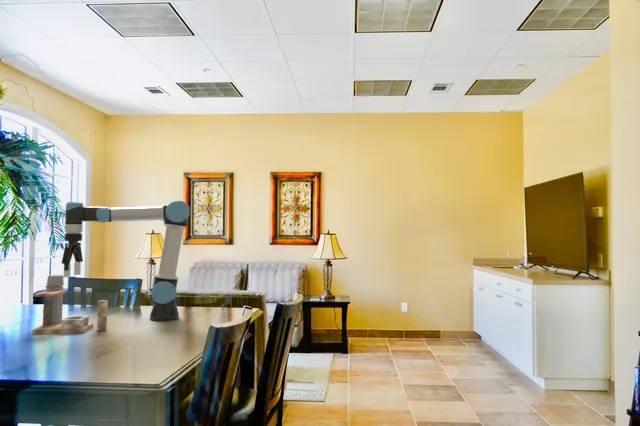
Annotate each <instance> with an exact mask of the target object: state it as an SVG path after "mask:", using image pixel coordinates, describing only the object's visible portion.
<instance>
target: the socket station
mask: <svg viewBox="0 0 640 426" xmlns="http://www.w3.org/2000/svg"><path fill="white" fill-rule="evenodd" d="M66 293H67V290H64V289H63V290H56V291H46V290H43V291H40V292H36V293H34V294H33V297H34V298H35V297H43V308H44V309H42V314H43V315H42V324H41V325H39V326H38V327H35V328H34V329H31V335H33V336H34V335H57V334H59V335H60V334H62V335H63V334H64V335H65V334H86V333H87V332H88V331H90V330H91V329H93V328H94V322H89V321H90V315H74V316H73V315H71V316H70V315H69V316H66V317H64V318H62V323H61V324H50V320H51V299H52V296H58V295H61V294H63V295H64V294H66Z"/></svg>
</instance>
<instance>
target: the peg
mask: <svg viewBox="0 0 640 426" xmlns="http://www.w3.org/2000/svg"><path fill="white" fill-rule="evenodd" d="M97 302H98V303H97V320H96V321H97V323H96V324H97V325H96V326H97V327H96V331H97V332H104V331H107V325H108V324H107V323H108V321H107V320H108V300H107V299H103V300H102V299H101V300H98V301H97Z"/></svg>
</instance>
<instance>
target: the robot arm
mask: <svg viewBox="0 0 640 426" xmlns="http://www.w3.org/2000/svg"><path fill="white" fill-rule="evenodd" d="M64 212H65V214H64V215H65V217H64V218H65V221H64V224H65V225H64V227H63V228H64V233H65V234H64V241H65V243H64V251H63V255H62V259H61V264H63V278H71V268H72V266H71V261H72V257H73V258H74V265H73V266H74V270H73V271H74V272H73V275H74V276H81V271H82V270H81V269H82V267H81V265H82V264H81V263H83V260H84V259H83V253H82V247H81V246H82V245H81V243H82V241H83V234H82V233H83V222H97V223H113V222H114V223H115V222H138V221H139V222H140V221H142V222H143V221H145V222H146V221H162V222H164V223H163V224H164V227H165V235H164V241H163V246H162V250H161V251H162V252H161V256H160V257H161V258H160V263H159V267H158V268H159V269H158V273H157V274H155V275H154V278H153V284H152V289H151V291H150V295H151V298H152V300H153V306H152V309H151V311H150V313H149V320H151V321H156V322H157V321H158V322H160V321H161V322H164V321H165V322H166V321H174V320H178V319H179V318H180V313H179V310H178V306H177V290H178V289H177V288H178V287H177V286H178V281H179V278H178V276H177V268H178V264H179V258H180V257H179V256H180V250H181V247H182V239H183V235H184V234H183V233H184V230H185V229H186V228H188V221H189V216H190V206H189V205H188V204H187V202H185V201H183V200H180V199H179V200H177V199H176V200H175V199H174V200H172V201H171V202H169V203H168V204H162V205H160V206H135V207H133V206H132V207H131V206H130V207H129V206H128V207H108V206H84V203H83V202H81V201H79V202H78V201H77V202H76V201H68V202H66V204H65V211H64Z"/></svg>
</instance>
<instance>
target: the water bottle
mask: <svg viewBox="0 0 640 426" xmlns="http://www.w3.org/2000/svg"><path fill="white" fill-rule="evenodd" d="M64 285H65V284H64V274H53V275H47V279H46V285H45V286H44V288H45V289H46V290H45V291H56V290H64ZM63 299H64V294H61V295H58V296H52V299H51V320H50V324H61V323H62V319H63V306H64V305H63V302H64V301H63ZM43 309H44V307H43ZM43 309H42V310H43Z"/></svg>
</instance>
